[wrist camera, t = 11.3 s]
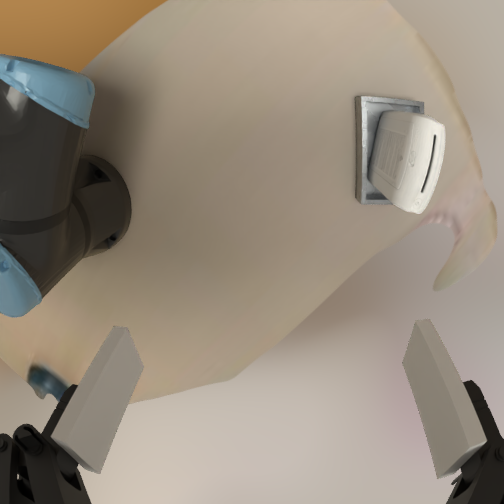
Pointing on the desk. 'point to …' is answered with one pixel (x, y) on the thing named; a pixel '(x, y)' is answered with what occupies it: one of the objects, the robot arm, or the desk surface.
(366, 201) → the grey rectangular tray
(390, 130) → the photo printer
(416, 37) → the desk surface
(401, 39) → the desk surface
